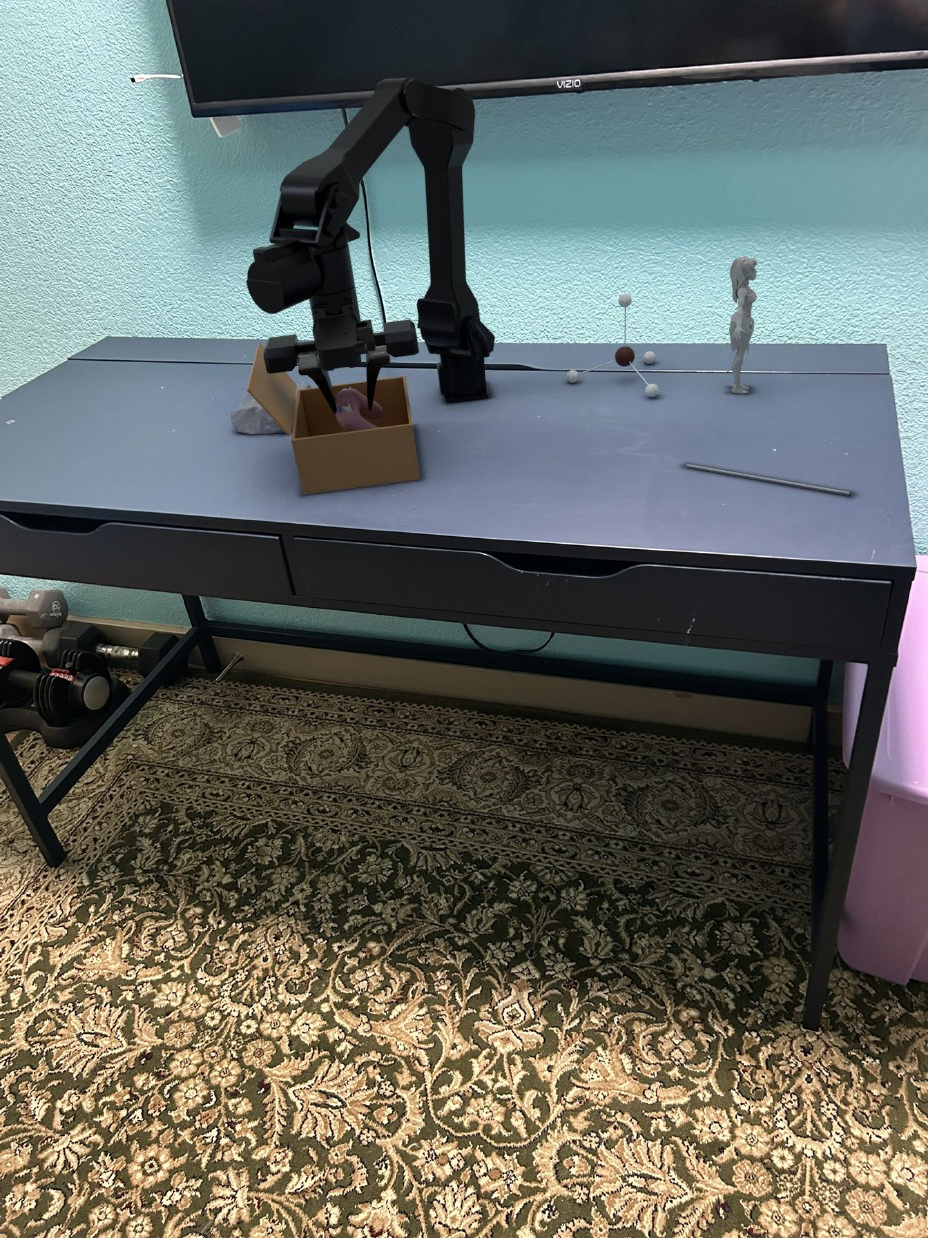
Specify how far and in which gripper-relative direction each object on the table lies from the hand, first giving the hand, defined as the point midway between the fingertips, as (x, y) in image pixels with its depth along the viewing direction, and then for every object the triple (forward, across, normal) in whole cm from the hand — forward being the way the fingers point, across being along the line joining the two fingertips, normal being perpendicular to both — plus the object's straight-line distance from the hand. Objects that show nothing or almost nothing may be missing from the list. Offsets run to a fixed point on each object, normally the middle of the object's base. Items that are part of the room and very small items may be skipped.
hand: (353, 411), depth 116 cm
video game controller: (+3, +1, 0) cm, 3 cm away
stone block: (+7, -13, +18) cm, 23 cm away
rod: (+7, +47, -20) cm, 52 cm away
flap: (-5, -9, 0) cm, 10 cm away
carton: (+7, 0, 0) cm, 7 cm away
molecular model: (+7, +40, +13) cm, 43 cm away
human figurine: (+7, +53, +6) cm, 54 cm away
